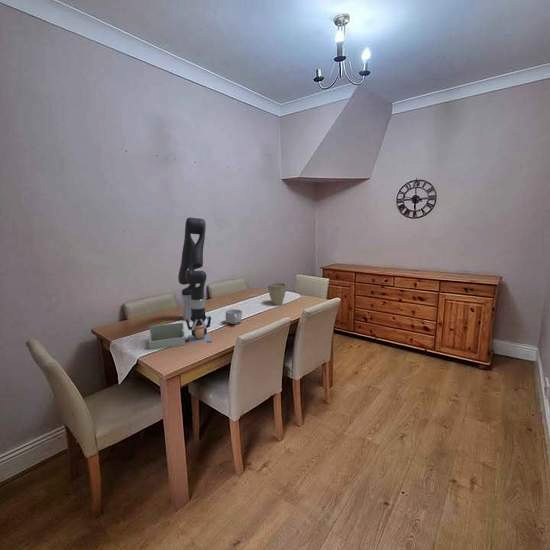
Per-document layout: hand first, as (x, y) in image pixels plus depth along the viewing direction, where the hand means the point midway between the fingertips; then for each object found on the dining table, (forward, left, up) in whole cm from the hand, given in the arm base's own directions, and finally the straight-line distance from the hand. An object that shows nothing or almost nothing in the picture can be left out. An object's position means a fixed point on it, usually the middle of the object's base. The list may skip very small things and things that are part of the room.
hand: (199, 335), depth 172 cm
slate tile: (0, 0, -3) cm, 3 cm away
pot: (0, 0, -1) cm, 1 cm away
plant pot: (-53, +66, -3) cm, 85 cm away
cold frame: (0, -17, -3) cm, 17 cm away
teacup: (-20, +24, -3) cm, 31 cm away
